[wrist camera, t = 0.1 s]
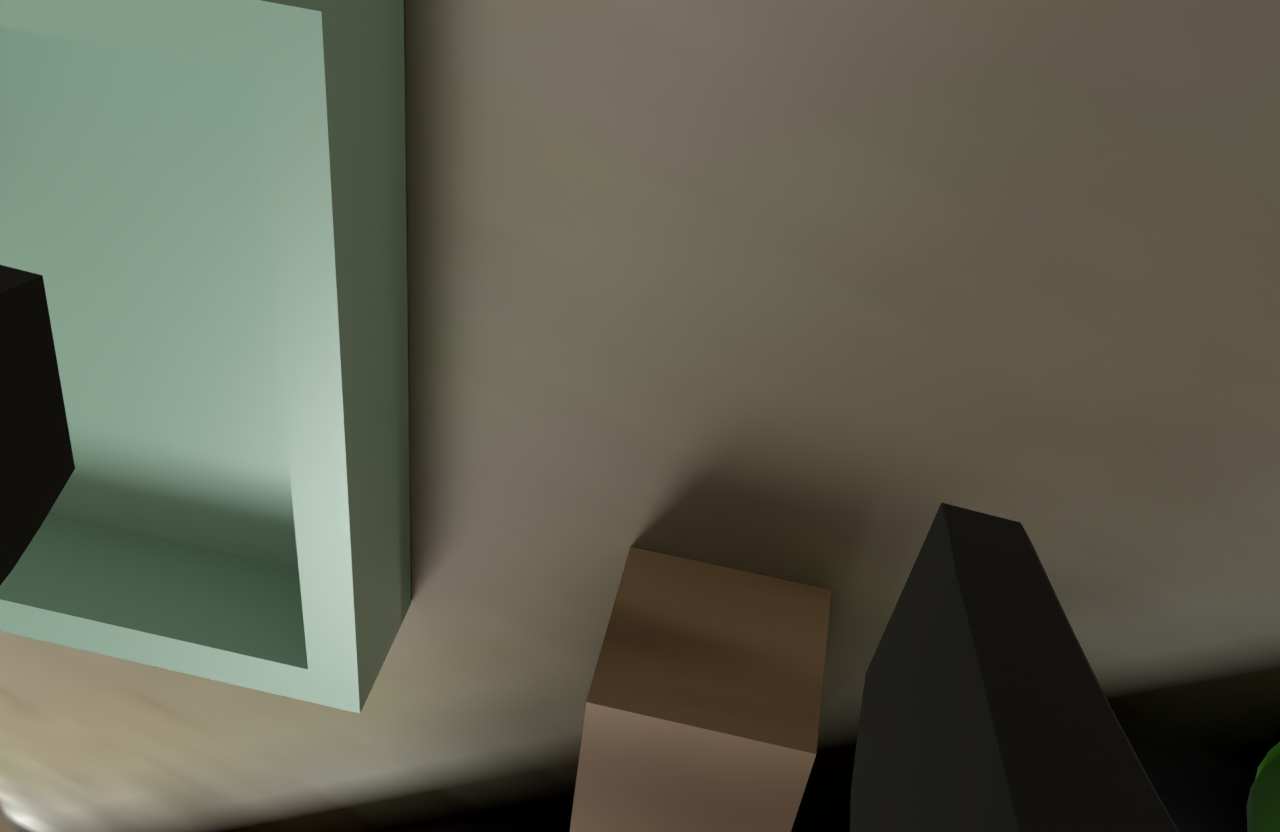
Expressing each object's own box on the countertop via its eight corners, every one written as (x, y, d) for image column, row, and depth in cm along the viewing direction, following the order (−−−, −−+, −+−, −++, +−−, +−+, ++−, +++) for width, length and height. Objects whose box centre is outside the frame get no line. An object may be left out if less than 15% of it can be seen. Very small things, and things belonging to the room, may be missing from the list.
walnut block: (793, 714, 26) (774, 881, 23) (612, 674, 27) (569, 833, 24) (832, 587, 24) (816, 754, 21) (631, 543, 24) (585, 701, 21)
